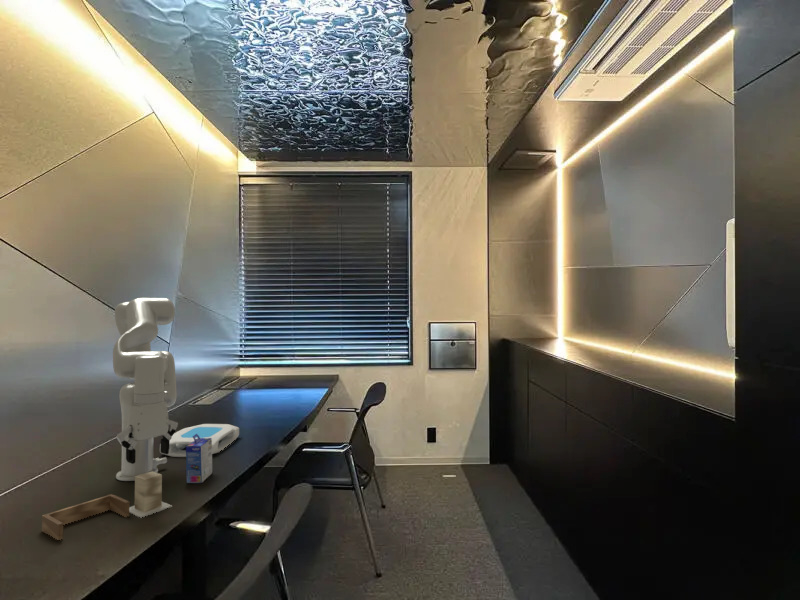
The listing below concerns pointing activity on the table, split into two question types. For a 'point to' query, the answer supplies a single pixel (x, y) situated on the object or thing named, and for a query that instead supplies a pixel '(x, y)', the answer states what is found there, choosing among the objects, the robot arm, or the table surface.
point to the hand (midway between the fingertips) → (148, 457)
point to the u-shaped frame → (82, 513)
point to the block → (148, 491)
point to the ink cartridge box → (198, 459)
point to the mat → (143, 514)
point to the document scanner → (214, 431)
